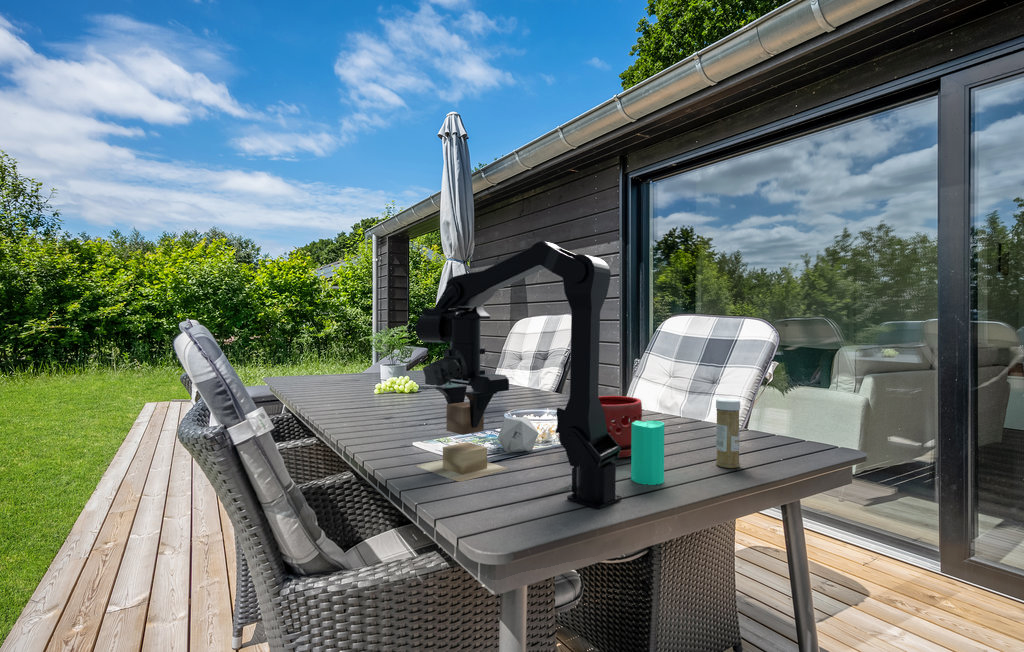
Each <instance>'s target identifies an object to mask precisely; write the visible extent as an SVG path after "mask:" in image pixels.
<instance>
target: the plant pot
mask: <svg viewBox="0 0 1024 652" xmlns="http://www.w3.org/2000/svg"><path fill="white" fill-rule="evenodd" d="M598 396H599V395H598ZM599 400H600V402H601V405H602V407H603V410H604V412H605V419H606V426H607V431H608V433H609V434H610V435H611V436H612V437H613V439H614V440H615V441H616V442H617V443H618V444H619V446H620V447H621V450H620V452H619V455H618V458H617V459H621V458H622V459H623V458H628V457H631V430H632V423H633V422H635V421H643V420H642V418H643V406H642V405H643V404H642V400H641V399H640V398H637V397H633V396H623V395H600V396H599Z"/></svg>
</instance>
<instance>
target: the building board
mask: <svg viewBox="0 0 1024 652" xmlns="http://www.w3.org/2000/svg"><path fill="white" fill-rule="evenodd" d="M415 467H417V468H418V469H422V470H425V471H427V472H430V473H433V474H435V475H439V476H441V477H444V478H447V479H450V480H453V481H456V482H458V483H462V482H466V481H469V480H474V479H477V478H481V477H484V476H487V475H488V476H489V475H491V474H492V475H493V474H497V473H499V472H503V471H507V470H510V468H509V467H505V466H501V465H499V464H496V463H492V462H489V461H487V469H483V470H479V471H475V472H471V473H468V474H464V475H462V474H459V473H456V472H453V471H450V470H447V469H444V468H443V458H442V459H438V460H434V461H430V462H425V463H421V464H420V463H419V464H416V465H415Z"/></svg>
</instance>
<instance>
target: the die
mask: <svg viewBox="0 0 1024 652" xmlns="http://www.w3.org/2000/svg"><path fill="white" fill-rule="evenodd" d="M539 434H540V433H539V431H538V430H537V429H536V427H535V426H534V425H533V423H532V422H531V420H530V419H529V418H528V416H519V417H516V416H515V417H504V420H503V422H502V425H501V427H500V430H499V432H498V435H497V441H498V442H499V443H498V444H500V445H501V447H502V449H503V451H505V452H509V453H510V452H511V453H521V452H530V451H533V450H534V446H535V444H536V441H537V440H538V436H539Z"/></svg>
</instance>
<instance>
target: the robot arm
mask: <svg viewBox="0 0 1024 652" xmlns="http://www.w3.org/2000/svg"><path fill="white" fill-rule="evenodd" d="M545 269H546V270H548V271H549V272H550V273H552V274H555V275H557V276H559V277H561V278H562V285H563V286H562V287H563V292H564V296H565V298H566V300H567V303H568V305H569V308H570V311H571V318H570V319H571V320H570V322H571V324H570V330H571V331H570V361H569V362H570V368H569V369H570V371H569V398H568V401H567V402H566V405H563V406H560V407H557V408H556V421H557V423H556V429H555V431H554V433H555V434H558V440H559V444H560V445H561V446H562V447H563V449H564V450H565V452H566V456H567V460H568V463H569V466H570V467H572V468H571V494H568V495H567V496H566V499H567V500H569V501H573V502H576V503H578V504H581V505H584V506H588V507H591V508H594V509H602V508H604V507H606V506H610V505H611V504H615V503H617V502H619V501H621V500H622V496H621V495H618V494H616V486H617V485H616V482H617V481H616V479H617V478H616V477H617V475H616V474H617V473H616V472H617V468H616V467H617V465H616V463H614V462H612V461H613V460H616V459H619V458H618V455H619V452H620V450H621V447H620V446H619V444H618V443H617V442H616V441H615V440H614V439H613V437H612V436H611V435H610V434H609V433H608V431H607V426H606V419H605V412H604V410H603V407H602V405H601V402H600V400H599V384H600V383H599V382H600V381H599V380H600V376H599V374H600V337H601V336H600V335H601V333H600V332H601V331H600V330H601V329H600V327H601V326H600V325H601V324H600V323H601V310H602V309H603V306H604V303H605V301H606V299H607V295H608V292H609V287H610V281H611V276H612V275H611V274H612V272H611V269H610V266H609V265H608V263H606V262H605V260H603V259H601V258H599V257H596V256H591V255H587V254H580V253H579V254H576V253H573V252H571V251H568V250H566V249H564V248H562V247H560V246H558V245H557V244H555V243H552V242H547V241H543V240H540V241H537V242H536V243H534V244H533V245H532V246H529V247H528V248H526V249H524V250H521V251H519V252H517V253H515V254H513V255H512V256H510V257H507V258H506V259H503V260H501V261H500V262H497V263H496V264H494V265H491V266H490V267H487V268H486V269H483V270H479V271H474V272H473V271H472V272H466V273H462V274H459V275H454V276H452V277H450V278H449V279H448V280H447V281H446V282H445V283H446V286H445V288H444V290H443V292H442V294H441V296H440V297H439V298H438V301H437V302H436V304H435V306H434V308H433V307H423V308H422V314H421V315H420V316H419V317H418V318H417V321H416V324H415V333H416V337H417V339H419V341H421V342H424V343H450V348H445V350H444V352H443V353H444V356H443V358H442V357H441V358H439V359H436V360H435V361H433V362H431V363H428V364H427V365H425V366H424V367H422V371H423V375H424V377H425V381H424V382H425V383H424V384H425V385H428V386H429V385H430V386H434V388H435V390H436V391H438V392H439V393H441V394H442V395H443V397H444V398H445V400H446V404H454V403H461V402H465V399H466V397H467V399H468V400H469V401H468V402H470V418H471V426H472V428H476V427H477V426H478V424H479V422H480V420H481V418H482V416H483V414H484V413H485V411H486V409H487V407H488V405H489V403H490V402H491V400H492V399H493V397H494V395H495V394H498V393H500V392H506V391H510V379H509V377H507V375H506V374H499V373H497V374H496V373H489V374H486V370H485V369H481V355H485V354H486V348H484V347H482V348H481V320H490V319H491V315H490V314H489V313H488V312H487V311H485V309H484V308H483V307H482V305H483V304H485V303H486V302H488V301H490V300H491V298H493V296H494V295H495V293H497V292H498V291H499V290H502V289H503V288H505V287H508V286H510V285H511V284H514V283H517V282H518V281H520V280H523V279H525V278H527V277H530V276H531V275H534V274H537V273H538V272H540V271H542V270H545ZM435 386H436V387H435ZM469 386H470V388H471V390H470V391H469V390H468V391H467V388H468V387H469ZM484 415H485V414H484Z"/></svg>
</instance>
